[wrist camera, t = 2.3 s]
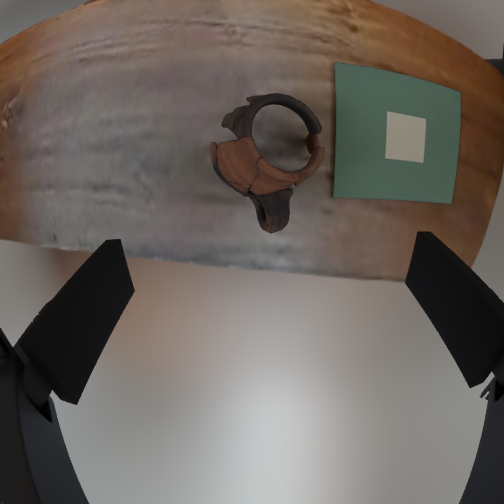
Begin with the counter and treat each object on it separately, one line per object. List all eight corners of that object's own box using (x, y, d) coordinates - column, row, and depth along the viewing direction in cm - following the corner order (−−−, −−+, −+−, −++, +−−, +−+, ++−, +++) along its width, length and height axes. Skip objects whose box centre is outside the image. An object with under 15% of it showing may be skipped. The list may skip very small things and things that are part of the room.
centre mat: (459, 92, 20) (461, 92, 20) (450, 203, 27) (451, 204, 26) (334, 62, 21) (335, 62, 20) (332, 196, 27) (333, 197, 27)
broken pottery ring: (194, 123, 24) (216, 87, 17) (278, 112, 27) (321, 84, 20) (222, 240, 27) (255, 249, 19) (303, 217, 30) (354, 217, 22)
